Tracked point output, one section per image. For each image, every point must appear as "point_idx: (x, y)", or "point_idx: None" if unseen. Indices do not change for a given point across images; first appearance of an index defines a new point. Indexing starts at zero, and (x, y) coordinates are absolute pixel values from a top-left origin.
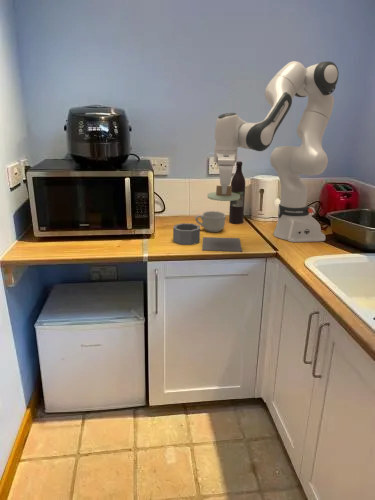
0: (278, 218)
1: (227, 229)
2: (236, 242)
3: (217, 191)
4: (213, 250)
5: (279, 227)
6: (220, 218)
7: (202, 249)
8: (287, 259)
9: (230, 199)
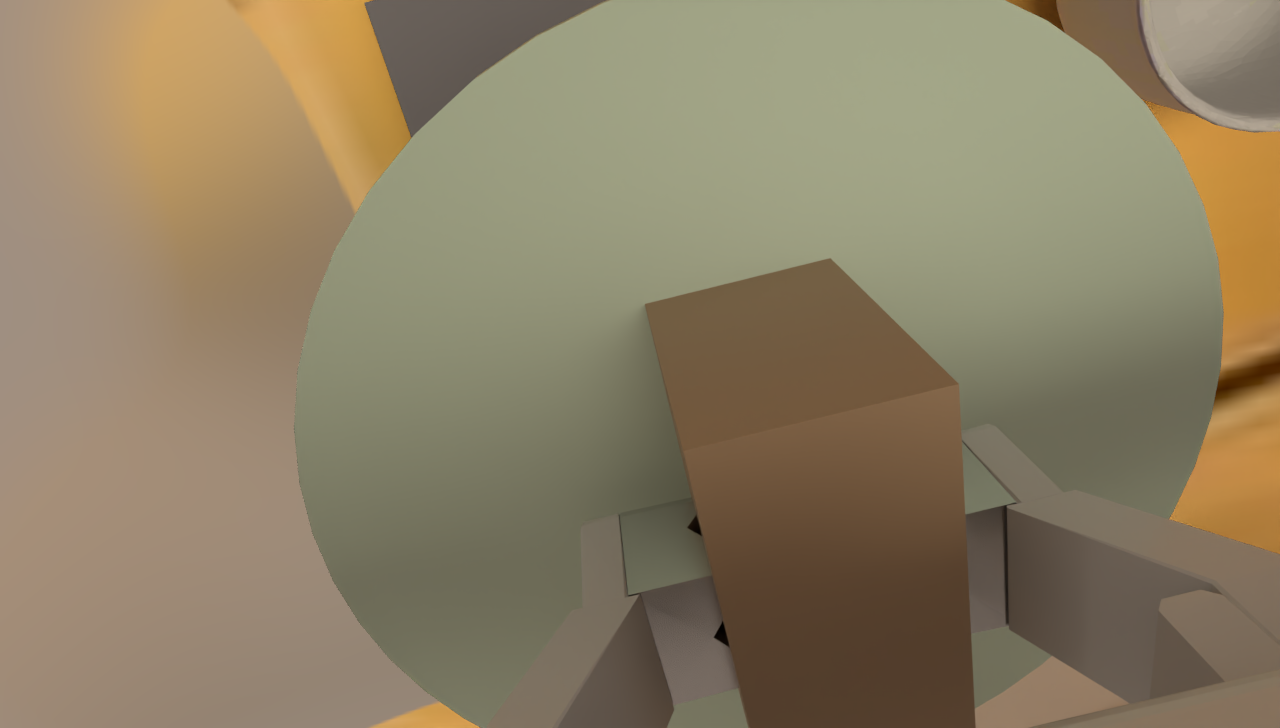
0: (1115, 699)
1: (1192, 119)
2: None
3: (666, 391)
4: (412, 136)
5: None
6: (1160, 81)
7: (369, 7)
8: None
9: (428, 669)
